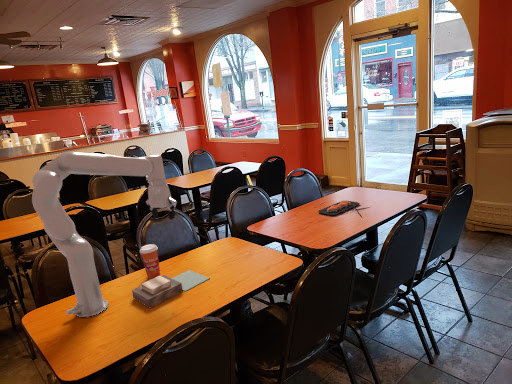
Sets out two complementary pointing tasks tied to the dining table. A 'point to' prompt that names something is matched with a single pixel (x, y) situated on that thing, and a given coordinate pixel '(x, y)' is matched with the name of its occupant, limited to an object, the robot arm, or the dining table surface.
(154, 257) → the coffee cup
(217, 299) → the dining table surface
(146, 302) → the grey rectangular block
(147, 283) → the beige rectangular block
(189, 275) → the mat
